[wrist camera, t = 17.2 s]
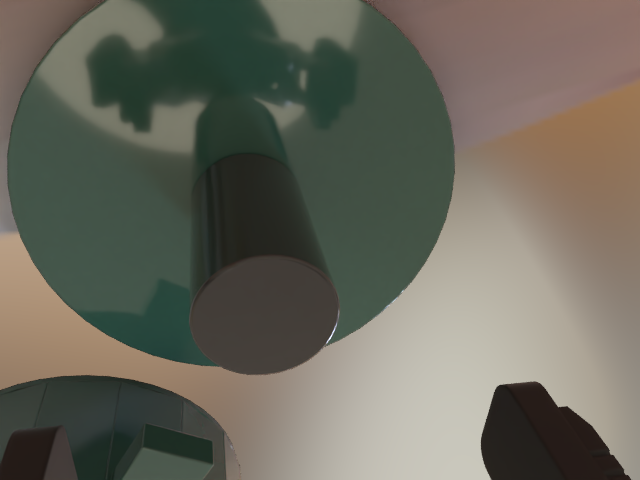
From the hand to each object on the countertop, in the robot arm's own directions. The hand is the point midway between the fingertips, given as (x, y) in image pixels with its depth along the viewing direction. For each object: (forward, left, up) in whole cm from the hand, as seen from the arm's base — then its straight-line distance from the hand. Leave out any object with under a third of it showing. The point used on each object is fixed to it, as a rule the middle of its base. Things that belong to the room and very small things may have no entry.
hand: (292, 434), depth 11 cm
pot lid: (0, 0, -10) cm, 10 cm away
